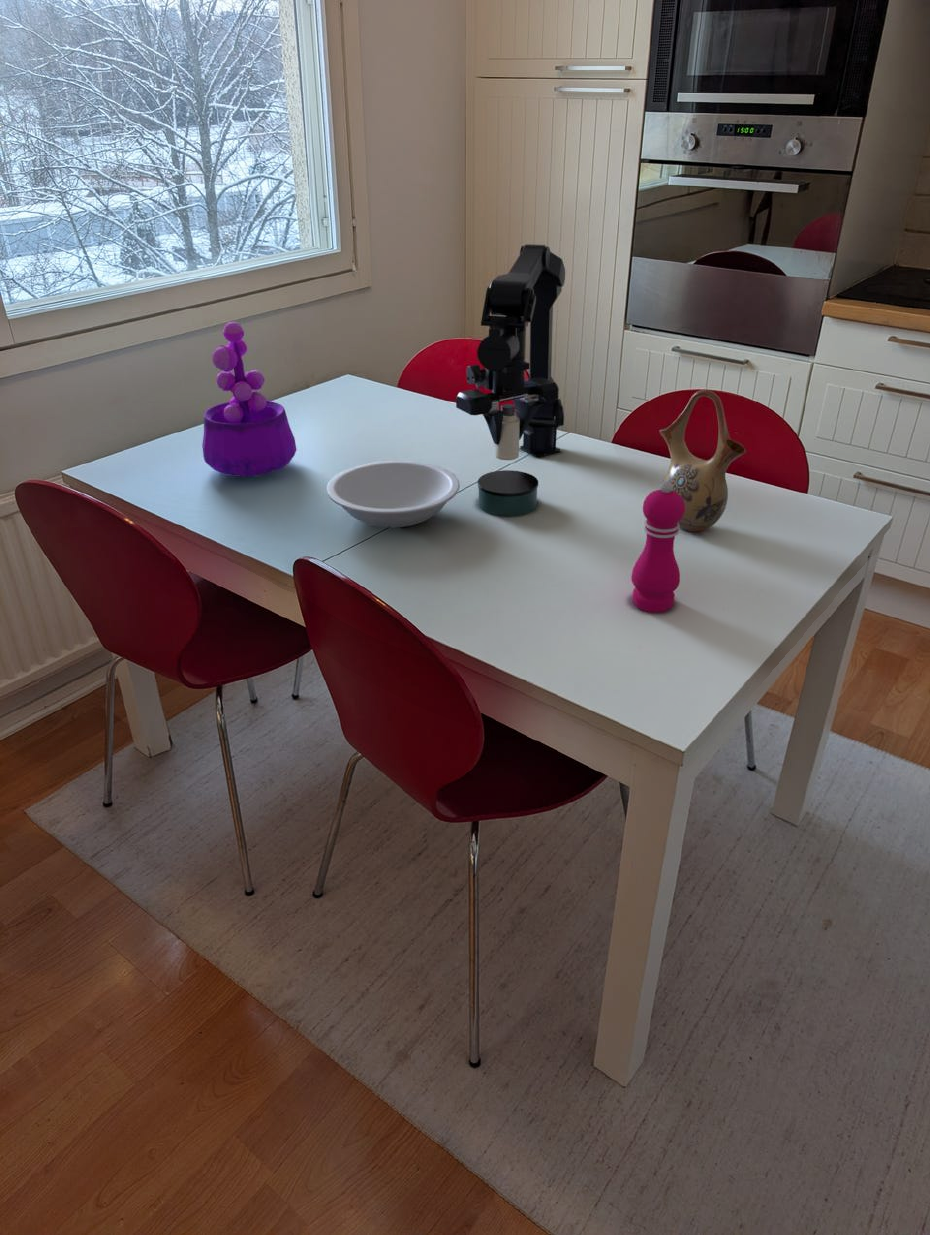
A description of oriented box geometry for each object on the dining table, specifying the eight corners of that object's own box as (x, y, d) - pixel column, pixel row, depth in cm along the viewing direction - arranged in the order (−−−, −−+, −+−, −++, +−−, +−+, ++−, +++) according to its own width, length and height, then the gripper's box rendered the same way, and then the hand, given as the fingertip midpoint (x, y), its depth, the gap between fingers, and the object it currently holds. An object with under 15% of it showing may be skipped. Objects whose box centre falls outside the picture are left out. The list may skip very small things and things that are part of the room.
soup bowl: (305, 535, 158) (302, 500, 155) (364, 485, 178) (362, 454, 174) (430, 555, 151) (429, 520, 148) (477, 501, 170) (477, 469, 167)
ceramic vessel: (743, 533, 158) (767, 394, 145) (715, 549, 152) (737, 406, 140) (665, 506, 168) (681, 374, 155) (637, 521, 162) (651, 385, 150)
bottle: (510, 450, 167) (511, 400, 162) (523, 457, 164) (524, 407, 159) (490, 454, 165) (490, 404, 160) (503, 462, 162) (504, 411, 157)
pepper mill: (624, 592, 140) (635, 472, 130) (669, 590, 140) (684, 470, 130) (635, 615, 134) (648, 492, 123) (682, 613, 134) (699, 490, 124)
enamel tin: (515, 488, 176) (515, 466, 174) (549, 507, 168) (550, 485, 165) (466, 500, 171) (466, 478, 169) (499, 521, 163) (499, 498, 160)
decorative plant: (269, 492, 175) (249, 337, 160) (188, 481, 180) (161, 329, 165) (313, 459, 190) (298, 314, 175) (237, 449, 195) (216, 308, 180)
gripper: (526, 339, 165) (524, 420, 173) (439, 353, 157) (441, 438, 165) (562, 352, 157) (558, 437, 165) (472, 368, 149) (473, 456, 157)
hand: (507, 441), depth 163 cm, fingers closed on bottle, 4 cm apart
